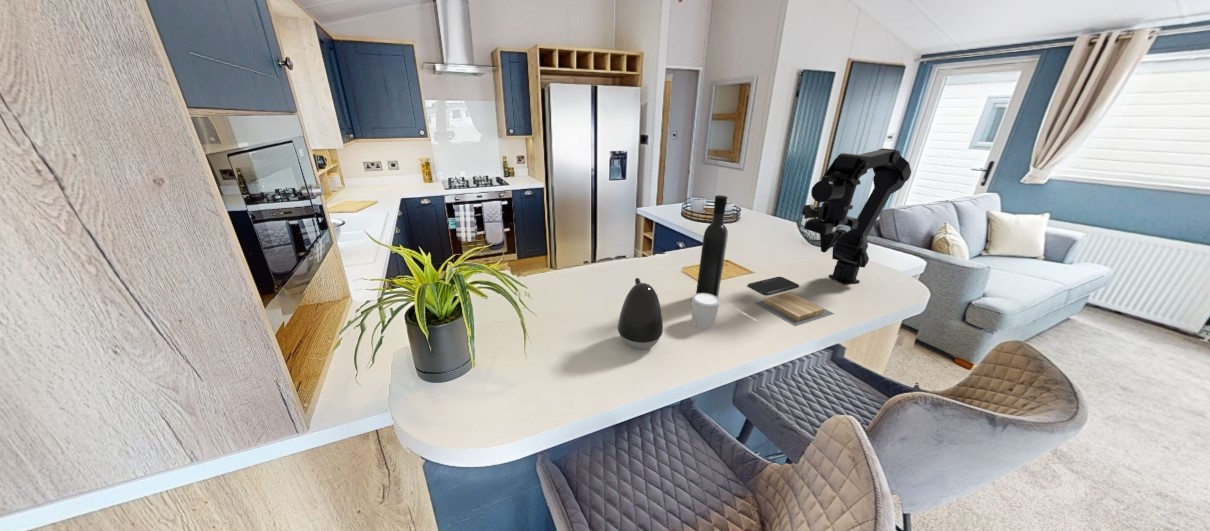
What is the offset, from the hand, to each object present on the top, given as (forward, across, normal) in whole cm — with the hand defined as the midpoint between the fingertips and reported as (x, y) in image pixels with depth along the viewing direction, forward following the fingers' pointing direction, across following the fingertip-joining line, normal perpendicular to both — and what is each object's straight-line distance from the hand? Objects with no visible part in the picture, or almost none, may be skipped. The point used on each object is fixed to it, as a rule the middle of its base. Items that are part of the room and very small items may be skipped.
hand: (823, 251), depth 115 cm
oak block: (+12, +13, +6) cm, 18 cm away
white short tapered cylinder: (+14, +45, -3) cm, 47 cm away
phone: (+13, +10, -7) cm, 18 cm away
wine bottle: (+14, +35, -11) cm, 39 cm away
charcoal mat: (+13, +17, +5) cm, 22 cm away
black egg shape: (+15, +64, -4) cm, 66 cm away
